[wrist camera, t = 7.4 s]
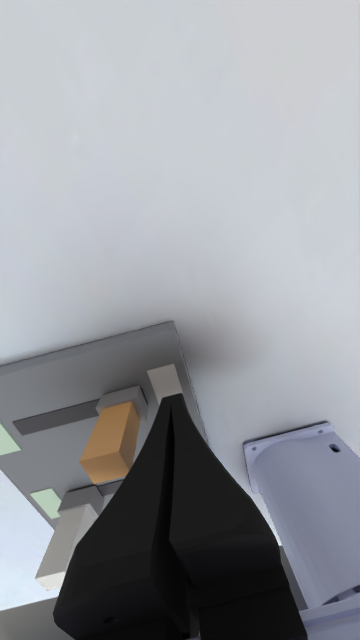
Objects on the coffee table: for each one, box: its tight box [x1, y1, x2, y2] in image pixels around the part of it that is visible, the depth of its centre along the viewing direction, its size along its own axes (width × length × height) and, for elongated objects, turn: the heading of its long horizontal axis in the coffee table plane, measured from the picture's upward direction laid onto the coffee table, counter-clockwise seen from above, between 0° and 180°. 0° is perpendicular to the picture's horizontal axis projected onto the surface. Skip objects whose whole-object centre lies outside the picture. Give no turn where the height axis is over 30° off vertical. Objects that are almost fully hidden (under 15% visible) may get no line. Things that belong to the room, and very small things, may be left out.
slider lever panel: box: [0, 321, 208, 530], centre depth 15 cm, size 17×18×2 cm
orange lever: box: [79, 386, 148, 484], centre depth 11 cm, size 3×2×4 cm
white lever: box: [35, 486, 105, 590], centre depth 14 cm, size 3×2×4 cm
